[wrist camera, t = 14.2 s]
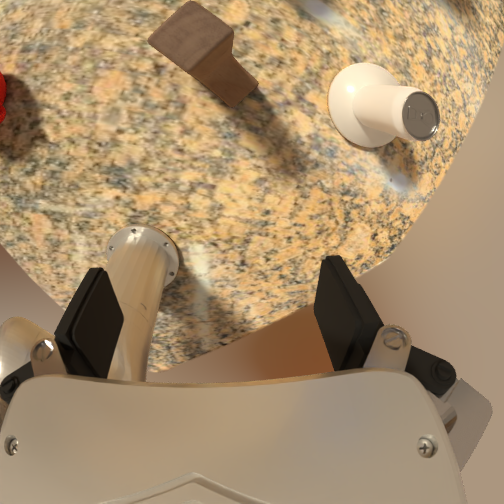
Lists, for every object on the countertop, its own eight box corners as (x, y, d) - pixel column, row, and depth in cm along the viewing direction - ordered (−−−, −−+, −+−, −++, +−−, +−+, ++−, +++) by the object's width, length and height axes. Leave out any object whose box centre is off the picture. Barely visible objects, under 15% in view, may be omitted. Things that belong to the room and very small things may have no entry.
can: (387, 130, 34) (438, 149, 24) (349, 124, 33) (396, 139, 23) (390, 89, 30) (444, 96, 20) (352, 81, 30) (401, 80, 20)
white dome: (398, 150, 36) (402, 151, 36) (325, 142, 35) (327, 143, 35) (404, 73, 29) (408, 73, 29) (327, 56, 28) (330, 55, 28)
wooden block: (256, 85, 31) (284, 73, 15) (231, 108, 32) (236, 115, 17) (206, 43, 27) (190, -3, 11) (182, 66, 28) (143, 40, 13)
